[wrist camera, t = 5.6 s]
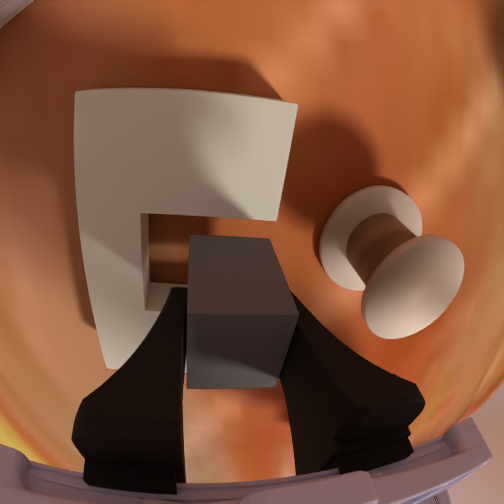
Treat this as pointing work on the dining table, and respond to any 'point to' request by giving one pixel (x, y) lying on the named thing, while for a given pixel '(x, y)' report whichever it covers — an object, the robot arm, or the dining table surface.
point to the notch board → (165, 186)
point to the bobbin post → (390, 260)
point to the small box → (11, 9)
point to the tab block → (236, 313)
